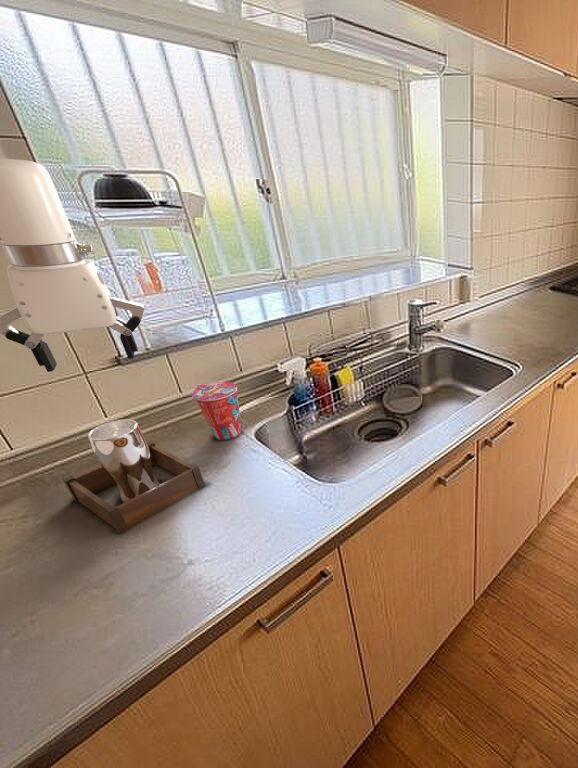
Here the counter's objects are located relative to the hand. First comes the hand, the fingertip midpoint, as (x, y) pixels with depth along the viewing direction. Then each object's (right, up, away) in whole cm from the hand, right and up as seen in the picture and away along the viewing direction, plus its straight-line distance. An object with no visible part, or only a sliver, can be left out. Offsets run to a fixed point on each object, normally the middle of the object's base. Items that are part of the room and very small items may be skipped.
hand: (93, 361), depth 69 cm
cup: (+1, -16, +30) cm, 34 cm away
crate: (-2, -25, +12) cm, 28 cm away
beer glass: (-2, -25, +12) cm, 28 cm away
